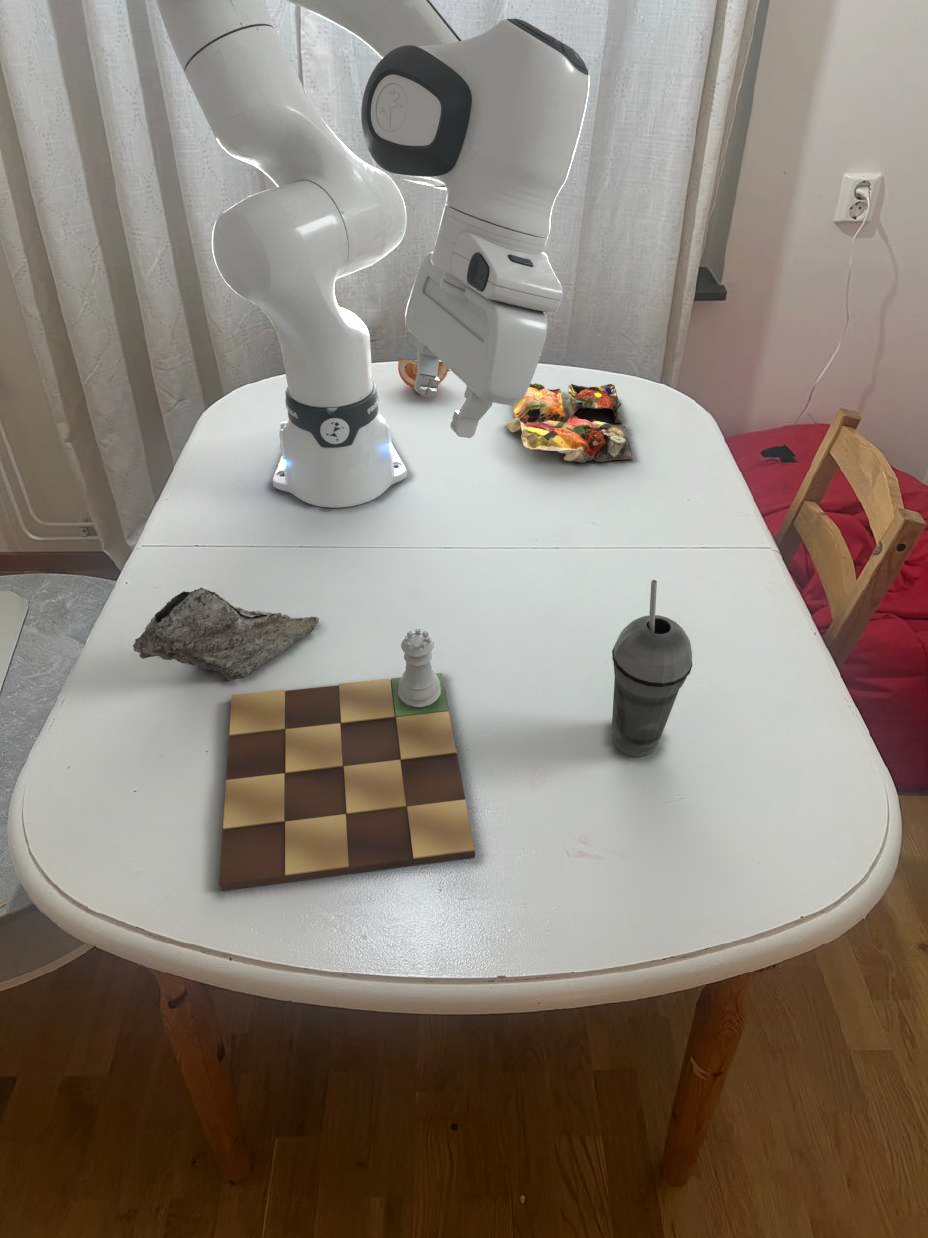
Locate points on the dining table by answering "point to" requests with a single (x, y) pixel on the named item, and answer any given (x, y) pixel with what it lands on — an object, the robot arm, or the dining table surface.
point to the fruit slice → (410, 371)
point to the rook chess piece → (418, 671)
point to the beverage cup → (647, 679)
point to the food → (571, 423)
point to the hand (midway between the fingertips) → (441, 413)
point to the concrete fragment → (219, 634)
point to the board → (339, 784)
